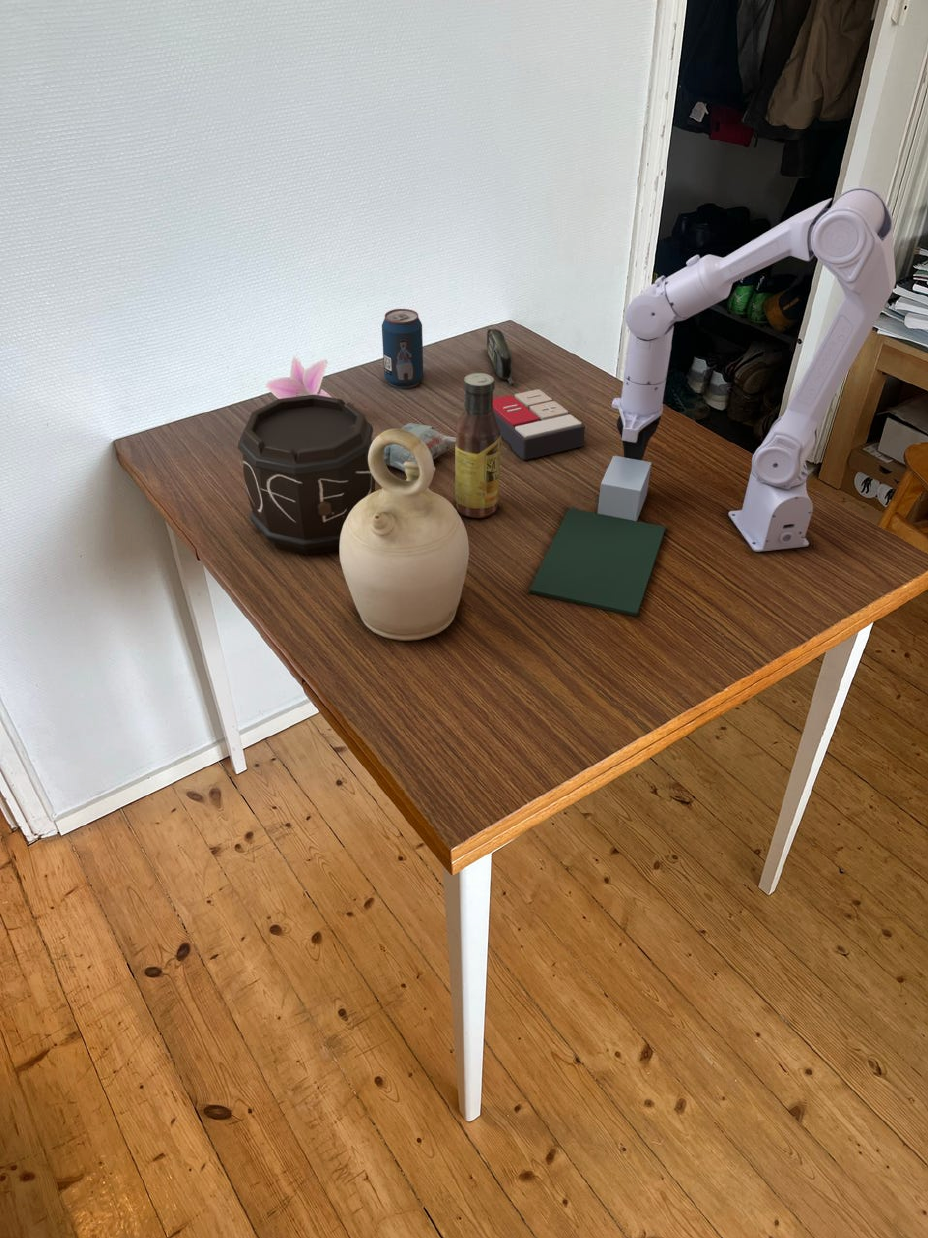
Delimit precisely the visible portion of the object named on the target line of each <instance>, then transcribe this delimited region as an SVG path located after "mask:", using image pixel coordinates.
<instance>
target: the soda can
mask: <svg viewBox="0 0 928 1238" xmlns="http://www.w3.org/2000/svg"><path fill="white" fill-rule="evenodd" d="M418 313H419V312H417V311H415V310H413V309H408V308H394V309H391V310H388V311H387V312H385V314H384V319H383V321H382V323H381V341H382V361H383V376H384V378H385V380H386V381H387V383H388V384H389V385H390V386H392V387H394V388H399V389H409V388H413V387H415V386H417V385H418V384H420V382H421V381H422V378H423V377H424V348H423V347H424V345H423V344H424V343H423V323H422V322H421V320H420V317H419V314H418Z"/></svg>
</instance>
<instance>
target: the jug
mask: <svg viewBox="0 0 928 1238" xmlns="http://www.w3.org/2000/svg"><path fill="white" fill-rule="evenodd" d="M391 444H397V445H400V446H402V447H404V448H406V449H407V450H408V451H409V452H410V453H411V454H412V455H413V456H414V457H415V459H416V461H417V463H413V462H405V463H404V467H405V470H406V472H405V476H406V479H401V478H400V477H397V476H396V475H394V474H393V473H392V472H391V471H390V470H389V468H388V467H387V465H385V462H384V457H383V454H384V449H385V447H386V446H387V445H391ZM434 463H435V462H434V460H433V459H432V455H431V453H430V451H429V449H428V447H427V446H426V444H425V443H424V442H423V441H422V440H421V439H420V438H419V437H418V436H416V435H415V434H413V433H412V432H410V431H407V430H404V429H401V428H389V429H387V430H384V431H382V432H381V433H379V434H378V435H377V436H376V437H375V438H374V440H372V444H371V446H370V449H369V453H368V464H369V468H370V471H371V473H372V475H373V477H374V479H375V482H376V483H377V484H378V485H379V486H380V487H381V488H380V489H377V490H375V492H373V493H371V494H370V495H368V496H366V497H365V498H363V499H362V500H361V501H359V502H358V503H357V504H356V505H355V506H354V507H353V509H352V510H351V511H350V513H349V514H348V516H347V519H346V521H345V523H344V525H343V528H342V532H341V536H340V550H339V562H340V566H341V569H342V573H343V576H344V579H345V582H346V585H347V588H348V590H349V592H350V593H349V594H350V596H351V598H352V601H353V603H354V606H355V609H356V611H357V613H358V614H359V616H360V619H361V621H362V622H363V624H364V625H365V626H366V627H367V628H368V629H369V630H370V631H371V632H372V633H374V634H376V635H378V636H380V637H382V638H384V639H389V640H392V641H393V640H394V641H401V642H402V641H403V642H413V641H420V640H425V639H427V638H431V637H433V636H436V635H437V634H440V633H441V632H443V631H444V630H445V629H447V628H448V627H449V626H450V625H451V624H452V622H453V621H454V619H455V617H456V613H457V610H458V606H459V604H460V601H461V597H462V593H463V588H464V583H465V580H466V574H467V570H468V565H469V557H470V545H469V538H468V532H467V529H466V526H465V524H464V521H463V520H462V517H461V516H460V513H459V511H458V510H457V508H456V507H454V505H453V504H452V503H451V502H450V501H449V500H448V499H446V498H445V497H443V496H442V495H440V494H438V493H435V492H434V491H432V490H431V489H430V488H429V487H430V485H431V484H432V482H433V479H434V474H435V471H436V467H435V464H434Z"/></svg>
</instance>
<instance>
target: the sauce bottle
mask: <svg viewBox="0 0 928 1238" xmlns="http://www.w3.org/2000/svg"><path fill="white" fill-rule="evenodd" d="M463 389H464V404H463V405H464V406H463V407H464V410H463V412H462V414H461V416H459V418H458V421H457V423H456V428H455V437H456V442H455V445H454V447H455V449H454V452H455V453H454V456H455V457H454V458H455V459H454V461H455V462H454V477H455V478H454V499H455V509H456V510H457V512H458V513H459V514H460V515H462V516H464V517H468V518H473V519H482V518H486V517H489V516H491V515H492V514H494V513H495V512H496V510H497V508H498V501H499V498H500V495H499V494H500V472H501V443H502V437H501V432H500V429H499V426H498V423H497V420H496V417H495V414H494V411H493V399H494V390H495V378H494V377H493V376H492V375H490V374H487V373H484V372H475V373H470V374H467V375H466V376H464V378H463Z"/></svg>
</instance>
